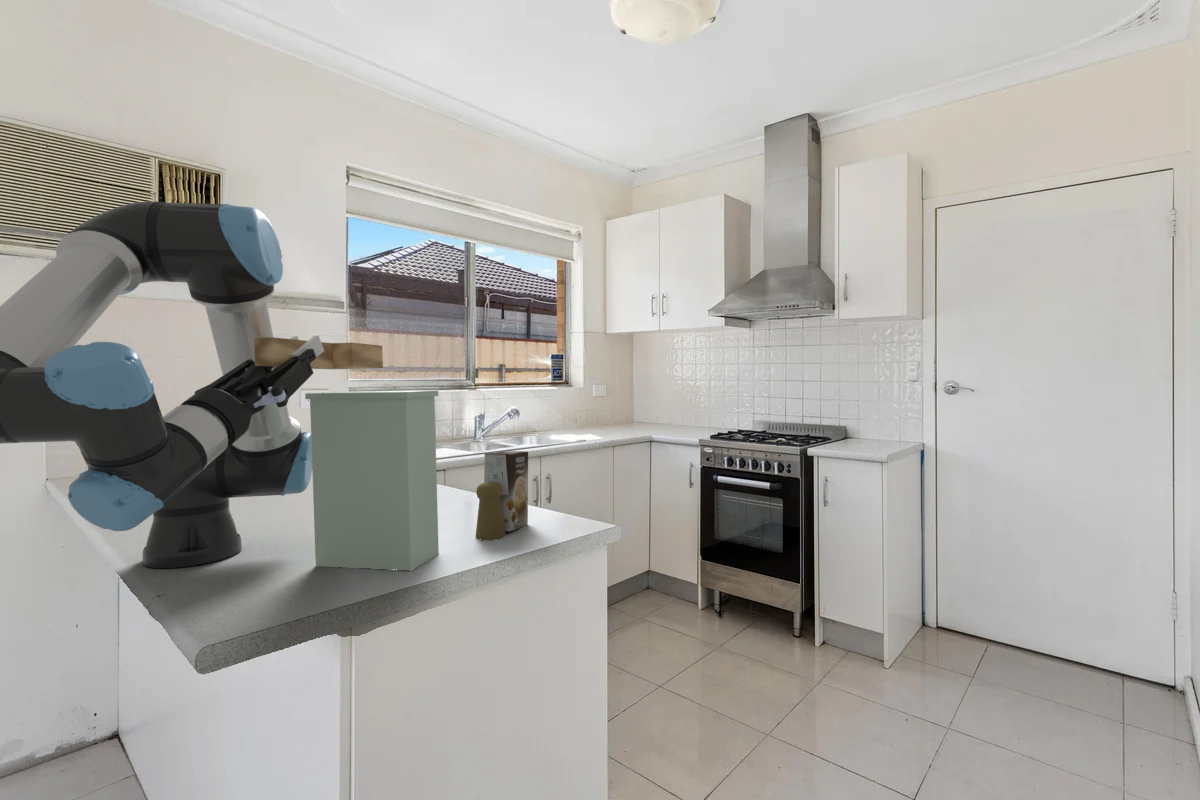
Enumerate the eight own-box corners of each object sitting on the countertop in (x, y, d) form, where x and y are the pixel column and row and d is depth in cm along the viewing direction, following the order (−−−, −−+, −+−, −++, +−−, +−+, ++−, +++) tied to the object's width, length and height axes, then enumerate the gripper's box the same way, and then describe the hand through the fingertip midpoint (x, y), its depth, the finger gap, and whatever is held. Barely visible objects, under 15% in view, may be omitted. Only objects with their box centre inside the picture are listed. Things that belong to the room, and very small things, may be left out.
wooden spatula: (234, 366, 86) (233, 338, 86) (332, 369, 108) (332, 347, 108) (295, 364, 84) (294, 336, 84) (382, 368, 106) (382, 345, 106)
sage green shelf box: (311, 567, 102) (305, 393, 101) (350, 548, 113) (345, 391, 112) (412, 572, 99) (407, 392, 98) (442, 553, 109) (438, 390, 108)
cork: (499, 541, 117) (497, 485, 117) (470, 540, 118) (469, 485, 118) (509, 533, 123) (508, 480, 123) (482, 532, 124) (481, 480, 124)
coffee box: (511, 532, 122) (511, 453, 122) (483, 530, 124) (483, 453, 124) (528, 523, 131) (528, 450, 131) (502, 522, 132) (502, 450, 133)
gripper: (163, 451, 78) (273, 365, 98) (271, 452, 75) (362, 363, 94) (134, 403, 74) (255, 323, 94) (246, 401, 71) (346, 320, 91)
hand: (308, 343), depth 94 cm, fingers closed on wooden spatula, 3 cm apart
